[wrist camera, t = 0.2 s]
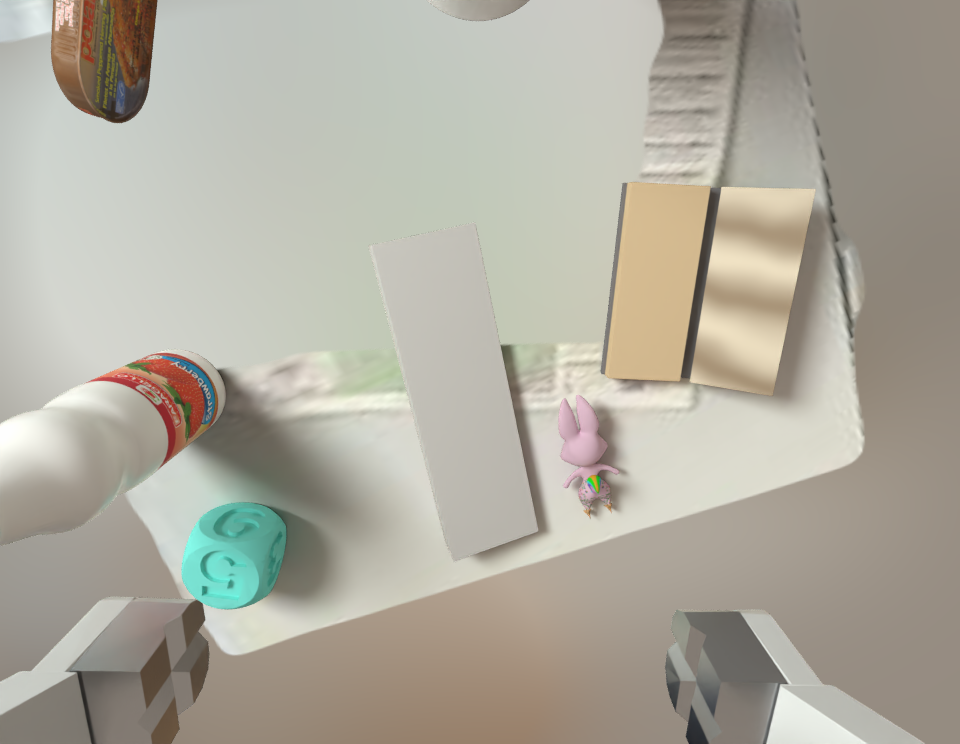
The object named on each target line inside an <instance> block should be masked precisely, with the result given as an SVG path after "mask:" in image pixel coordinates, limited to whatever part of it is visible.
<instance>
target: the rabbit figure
mask: <svg viewBox="0 0 960 744" xmlns="http://www.w3.org/2000/svg"><path fill="white" fill-rule="evenodd" d="M576 400H577V414H578V420H579V424H580V430H578V427H577V424H576V421H575V417H574V414H573V412H572V410H571V408H570V406H569V404H568V402H567V400H566V399H565V398H564V399H563V400H562V402H561V406H560V412H559V433H560V436H561V437H562V438H563V439H564V440H565V442H564V445H563V448H562V452H561V459H562V460H564V461H566V462H568V463H571V464H573V465H576V466H581V467H580V468H578V469H577V470H576V471H574V472H573V473H572V474H571V475H570V476H569V478H568V479H567V480H566V482H565V483H564V485H563V486H564V488H568V487H569V485H570V483H571V481H572V480H573V479H575V478H576V477H583V482H582V484H581V486H580V489H579V493H578V495H579V499H580V501H581V503H582V504H583V506H584V507H585V508H586V510H584V511H585V513H586V514H587V515H588V516H589V517H590V511H591V509H590V507H591V505H592V502H593V500H594V499H597V498H599V499H600V500H602V501H603V502H605V503H606V504H607V505H604V506H606V507H607V508H608V509H609V510H610V511H611V506H612V505H611V504H612V503H611V504H610V501H611V491H610V487H609V485H608V484H607V483H606V482H605V481H603V480H602V479H601V478H600V476H598V473H599V471H601V470H608V471H611V472H613V473H614V474H619V470H617V469H615V468H613V467H611V466H608V465H604V464H597V463H596V462H597V461H598V460H599V459H600V458H601V457H602V455H603V454H604V452H605V451H606V449H607V443H606V442H605V441H604V440H603V439H602V438H601V437H600V436H599V435H598V433H597V431H598V428H599V421H598V418H597V416H596V414H595V412H594V410H593V409H592V407H591V406H590V405H589V403H588V402H587V401H586V400H585V399H584V398H583V397H582V396H580V395H576ZM611 513H612V511H611ZM590 519H591V517H590Z"/></svg>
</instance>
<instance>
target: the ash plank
mask: <svg viewBox="0 0 960 744" xmlns="http://www.w3.org/2000/svg"><path fill="white" fill-rule="evenodd" d="M815 191H816V189H791V188H747V187H722V188H721V194H720V200H719V206H718V213H717V219H716V225H715V231H714V237H713V243H712V249H711V255H710V261H709V267H708V274H707V280H706V286H705V292H704V298H703V304H702V310H701V316H700V322H699V329H698V335H697V341H696V347H695V353H694V359H693V365H692V371H691V377H690V382H692V383H698V384H704V385H709V386H715V387H721V388H727V389H733V390H739V391H745V392H751V393H757V394H763V395H769V396H773V392H774V387H775V382H776V377H777V372H778V368H779V363H780V358H781V353H782V349H783V344H784V339H785V334H786V329H787V325H788V320H789V315H790V310H791V306H792V301H793V296H794V291H795V286H796V282H797V277H798V272H799V267H800V262H801V258H802V253H803V248H804V243H805V239H806V234H807V229H808V224H809V219H810V215H811V210H812V205H813V200H814V196H815Z"/></svg>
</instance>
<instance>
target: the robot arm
mask: <svg viewBox="0 0 960 744" xmlns="http://www.w3.org/2000/svg"><path fill="white" fill-rule="evenodd" d="M427 1H428V2H429V3H430V4H431V5H433V6H434V7H436V8H437V9H439V10H440V11H442V12H444V13H446V14H448V15H451V16H454V17H456V18H460V19H464V20H470V21H486V20H492V19H497V18H500V17H503V16H506V15H508V14H510V13H512V12H514V11H516V10H517V9H519V8H520V7H522V6H523V5H525V4H526V3H527V2H528V1H529V0H427ZM204 621H205V615H204V609H203V603H201V602H200V601H198V600H193V599H170V598H148V597H147V598H146V597H139V598H135V597H113V596H109V597H107V598H104V599H102V600H100V601H99V602H98V603H97V604H96V605H95V606H94V607H93V608H92V609H91V610H90V611H89V612H88V613H87V614H86V615H85V616H84V617H83V618H82V619H81V620H80V621H79V622H78V623H77V624H76V625H75V626H74V627H73V629H71V630H70V632H69V633H68V634H67V635H66V636H65V637H64V638H63V639H62V640H61V641H60V642H59V643H58V644H57V645H56V646H55V647H54V648H53V649H52V650H51V651H50V652H49V653H48V654H47V655H46V656H45V657H44V658H43V659H42V660H41V662H40V663H38V665H37V666H36V667H35V668H34V669H33V670H32V671H30V672H28V671H27V672H26V671H20V672H18V673H17V674H14V675H13V676H11V677H9V678H7V679H5V680H3V681H1V682H0V744H171V743H172V741H173V740H174V738H175V736H176V734H177V733H178V731H179V721H178V715H179V714H181V713H182V712H183V711H185V710H186V709H188V708H189V707H190V706H192V705H193V704H194V703H195V701H196V699H197V697H198V695H199V693H200V692H201V690H202V688H203V684H204V681H205V678H206V674H207V671H208V664H209V646H208V641H207V640H206V639H205V638H204V637H203V636H202V635H201V634H200V633H199V632H198V631H199V629H200V627H201V626H202V624H203V623H204ZM671 631H672V633H673V635H674V637H675V639H676V642H675V643H674V644H673V645H672V646H671V647H670V648H669V649H668V650H667V658H666V665H665V670H666V682H667V688H668V692H669V696H670V699H671V702H672V704H673V707H674V709H675V712H676V713H678V714H679V715H680V716H681V717H682V718H684V719H685V720H686V721H687V722H688V726H687V732H686V738H687V741H688V743H689V744H925V743H924V742H922V741H920V740H919V739H917V738H916V737H914V736H913V735H911V734H909V733H908V732H906V731H905V730H903V729H901V728H900V727H898V726H897V725H895V724H893V723H892V722H890V721H889V720H887V719H886V718H884V717H882V716H881V715H879V714H878V713H876V712H874V711H873V710H871V709H870V708H868V707H866V706H865V705H863V704H862V703H860V702H858V701H857V700H855V699H854V698H852V697H851V696H849V695H847V694H846V693H844V692H842V691H841V690H839V689H838V688H836V687H835V686H833V685H823V684H822V682H821V681H820V680H819V679H818V677H817V676H816V674H815V673H814V672H813V671H812V669H811V668H810V667H809V665H808V664H807V663H806V661H805V660H804V659H803V657H802V656H801V655H800V653H799V652H798V651H797V649H796V648H795V647H794V646H793V644H792V643H791V641H790V640H789V639H788V637H787V636H786V635H785V634H784V632H783V631H782V630H781V628H780V627H779V626H778V624H777V623H776V622H775V620H774V619H773V618H772V616H771V615H770V614H769V613H767V612H766V611H764V610H733V611H728V610H725V611H722V610H676V612H675V614H674V616H673V619H672V625H671Z"/></svg>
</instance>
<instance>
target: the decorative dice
mask: <svg viewBox="0 0 960 744" xmlns="http://www.w3.org/2000/svg"><path fill="white" fill-rule="evenodd" d="M285 545H286V525H285V524H284V522H283V521H282V519H281V518H280V517H279V516H278V515H277V514H276V513H275V512H274V511H272V510H271V509H269V508H268V507H265V506H263V505H259V504H255V503H231V504H226V505H222V506H219V507H216V508H214V509H212V510H210V511H209V512H207V513H206V514H204V515H203V516H202V517H201V518H200V519H199V520H198V522H197V523H196V525H195V527H194V528H193V530H192V532H191V535H190V537H189V539H188V542H187V545H186V548H185V552H184V556H183V562H182V580H183V582H184V584H185V586H186V588H187V589H188V591H189V592H190V593H191V594H192V595H193V596H194V597H195V598H196V599H197V600H199V601H200V602H202V603H204V604H206V605H208V606H211V607H214V608H218V609H237V608H242V607H246V606H249V605H252V604H254V603H256V602H258V601H260V600H261V599H263V598H264V597H266V596H267V595H268V594H269V593H270V592H271V590H272V588H273V586H274V584H275V582H276V580H277V577H278V574H279V571H280V568H281V564H282V561H283V556H284V551H285Z"/></svg>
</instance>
